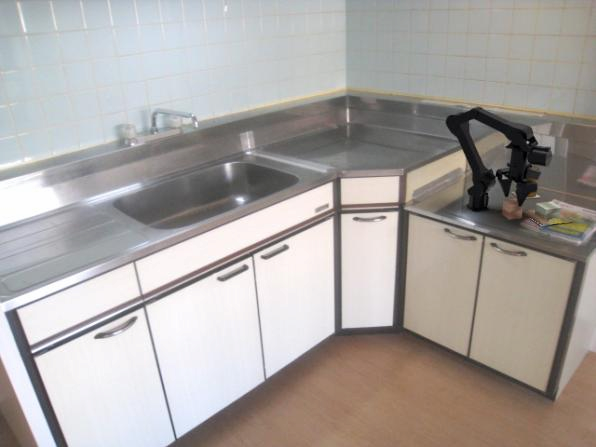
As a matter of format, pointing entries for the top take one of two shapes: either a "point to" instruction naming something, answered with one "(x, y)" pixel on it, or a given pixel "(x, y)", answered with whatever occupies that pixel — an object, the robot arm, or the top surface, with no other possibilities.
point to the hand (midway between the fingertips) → (513, 201)
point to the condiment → (534, 195)
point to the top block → (512, 209)
